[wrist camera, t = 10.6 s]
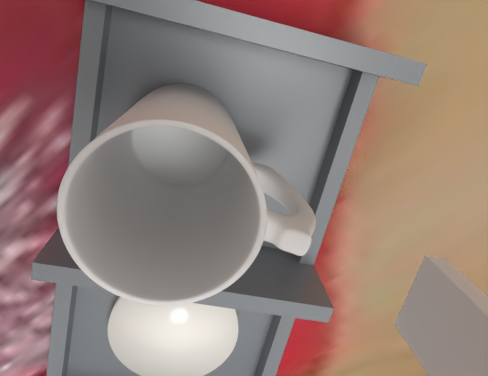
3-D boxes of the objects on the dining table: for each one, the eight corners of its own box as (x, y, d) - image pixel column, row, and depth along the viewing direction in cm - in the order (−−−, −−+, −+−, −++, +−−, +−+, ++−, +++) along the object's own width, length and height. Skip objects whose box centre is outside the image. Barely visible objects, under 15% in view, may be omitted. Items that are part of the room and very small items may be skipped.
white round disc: (103, 361, 30) (99, 374, 29) (120, 257, 27) (117, 267, 26) (222, 375, 31) (222, 388, 30) (250, 278, 29) (252, 288, 27)
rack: (55, 375, 31) (16, 465, 25) (99, -17, 22) (56, -38, 16) (255, 396, 34) (267, 483, 27) (368, 55, 25) (426, 63, 18)
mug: (112, 168, 25) (37, 279, 14) (142, 60, 23) (82, 86, 12) (264, 214, 27) (306, 344, 16) (303, 120, 25) (386, 190, 14)
